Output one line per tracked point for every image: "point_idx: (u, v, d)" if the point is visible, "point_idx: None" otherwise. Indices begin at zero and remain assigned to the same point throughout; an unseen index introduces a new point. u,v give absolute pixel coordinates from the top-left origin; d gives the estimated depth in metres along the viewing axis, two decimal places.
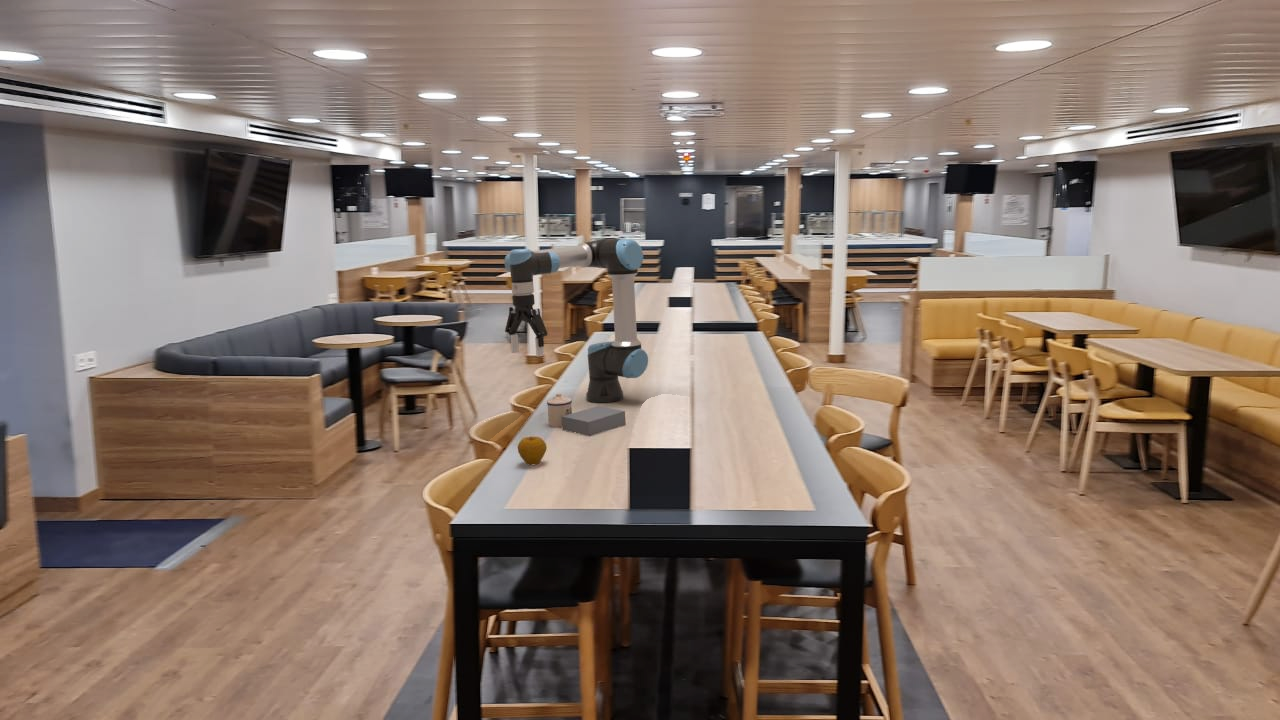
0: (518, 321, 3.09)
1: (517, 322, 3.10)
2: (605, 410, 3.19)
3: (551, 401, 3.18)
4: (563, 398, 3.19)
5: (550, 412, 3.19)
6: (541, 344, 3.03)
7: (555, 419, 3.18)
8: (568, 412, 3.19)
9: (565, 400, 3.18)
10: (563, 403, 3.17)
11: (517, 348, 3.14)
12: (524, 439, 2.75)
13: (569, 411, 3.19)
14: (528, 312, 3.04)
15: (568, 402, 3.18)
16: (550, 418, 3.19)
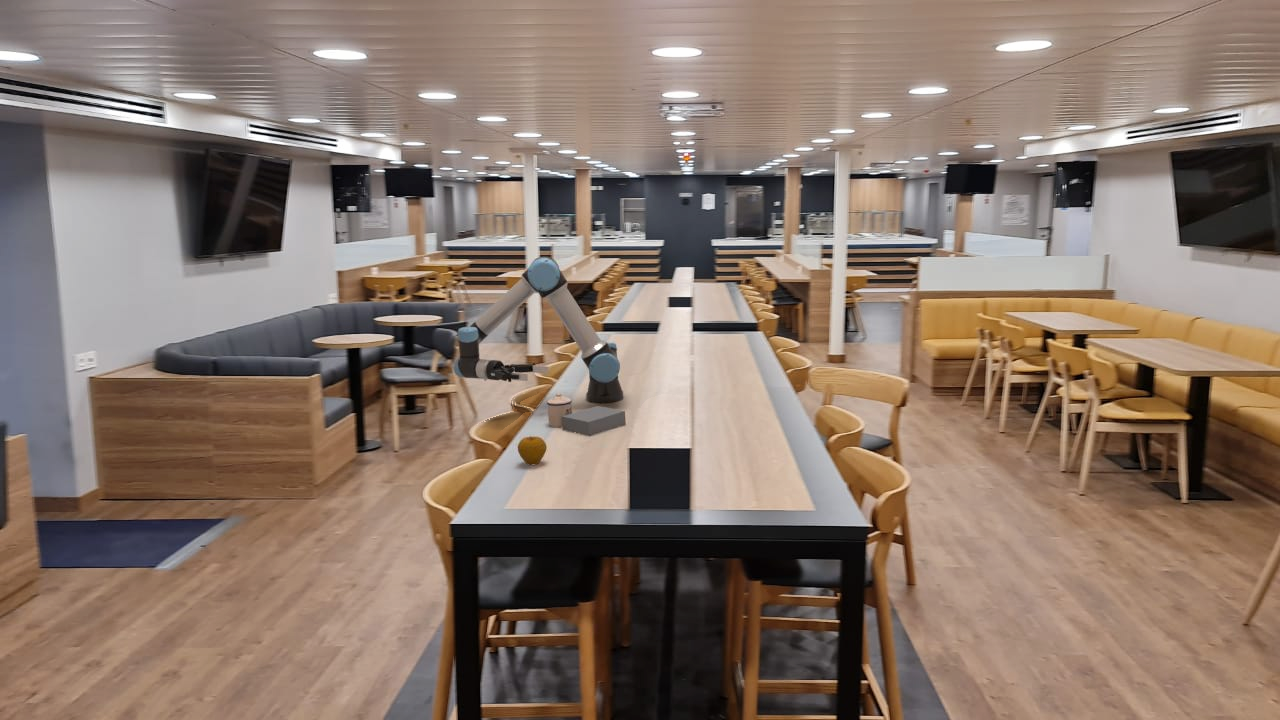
0: (517, 370, 3.33)
1: (518, 371, 3.33)
2: (605, 410, 3.19)
3: (551, 401, 3.18)
4: (563, 398, 3.19)
5: (550, 412, 3.19)
6: (515, 378, 3.19)
7: (555, 419, 3.18)
8: (568, 412, 3.19)
9: (565, 400, 3.18)
10: (563, 403, 3.17)
11: (543, 368, 3.31)
12: (524, 439, 2.75)
13: (569, 411, 3.19)
14: None
15: (568, 402, 3.18)
16: (550, 418, 3.19)
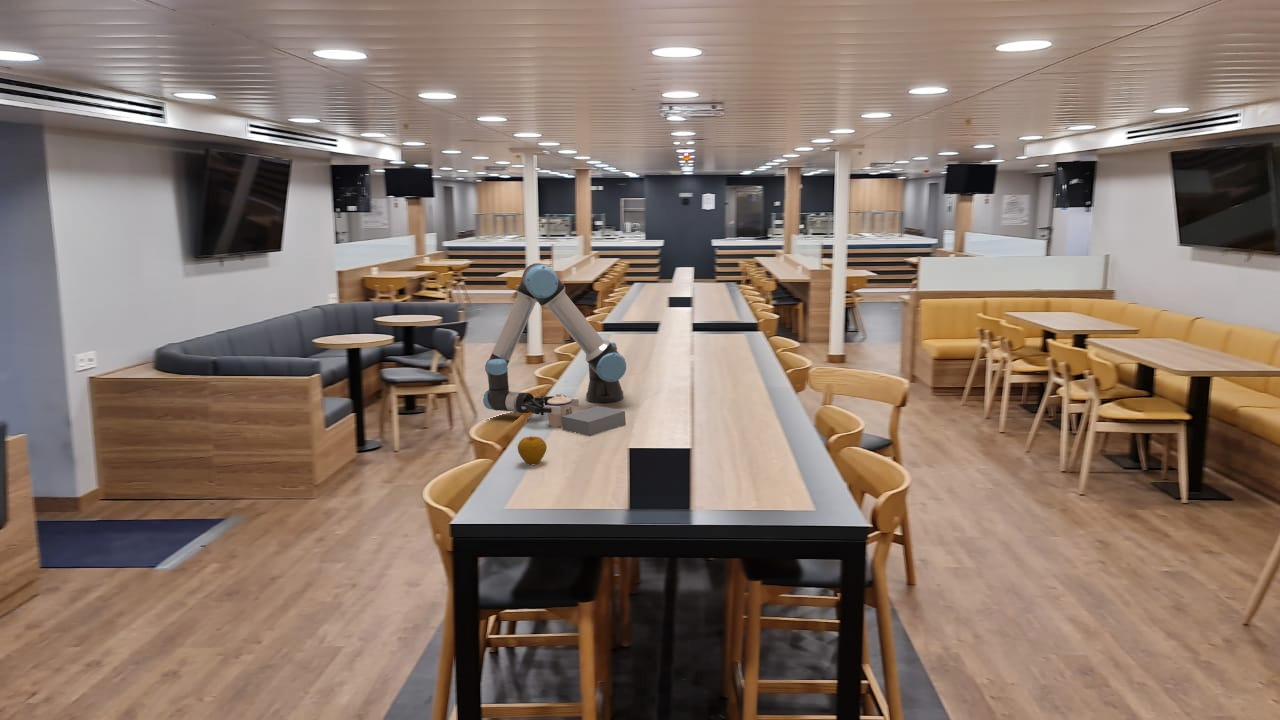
0: None
1: None
2: (605, 410, 3.19)
3: (551, 401, 3.18)
4: (563, 398, 3.19)
5: None
6: (547, 411, 3.16)
7: (555, 418, 3.18)
8: (568, 412, 3.19)
9: (565, 400, 3.18)
10: (563, 403, 3.17)
11: (574, 400, 3.26)
12: (524, 439, 2.75)
13: (569, 411, 3.19)
14: None
15: (568, 402, 3.18)
16: (550, 418, 3.19)
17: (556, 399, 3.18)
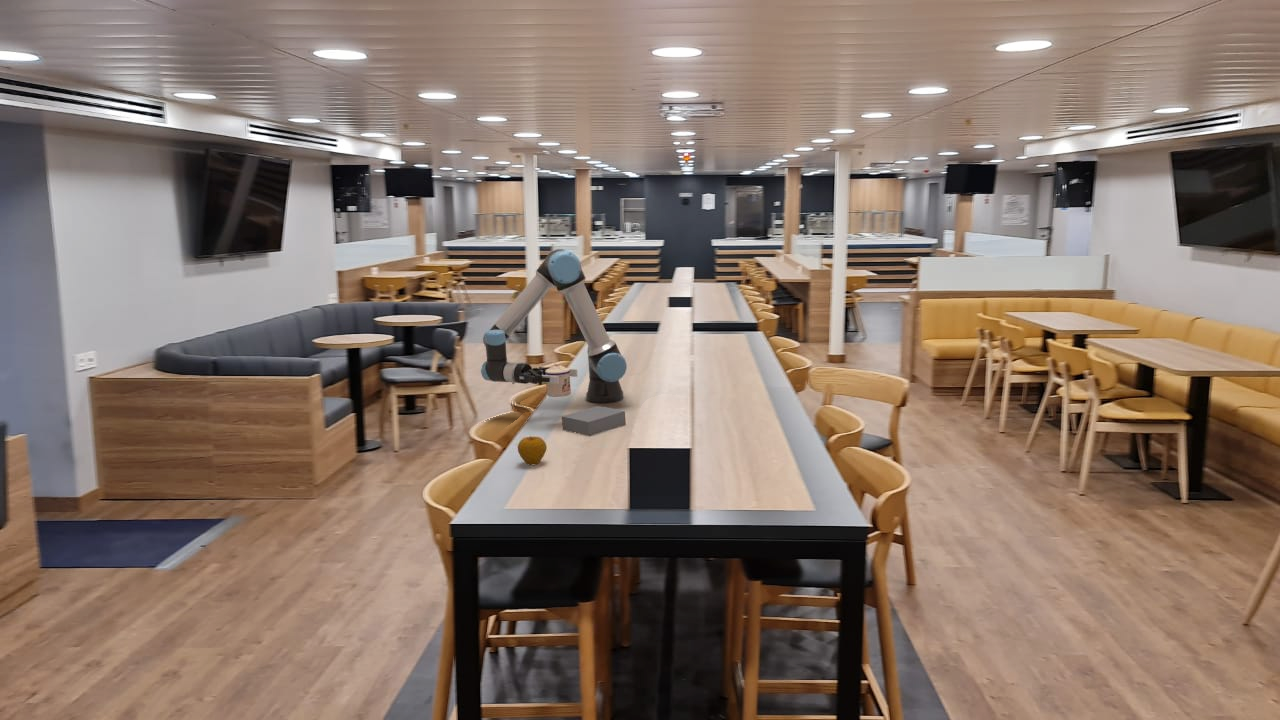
0: None
1: None
2: (605, 410, 3.19)
3: (549, 370, 3.16)
4: (561, 368, 3.17)
5: None
6: (545, 380, 3.14)
7: (553, 388, 3.15)
8: (566, 382, 3.16)
9: (563, 369, 3.16)
10: (561, 372, 3.14)
11: (572, 371, 3.24)
12: (524, 439, 2.75)
13: (567, 381, 3.17)
14: None
15: (566, 371, 3.16)
16: (548, 388, 3.17)
17: (554, 369, 3.16)
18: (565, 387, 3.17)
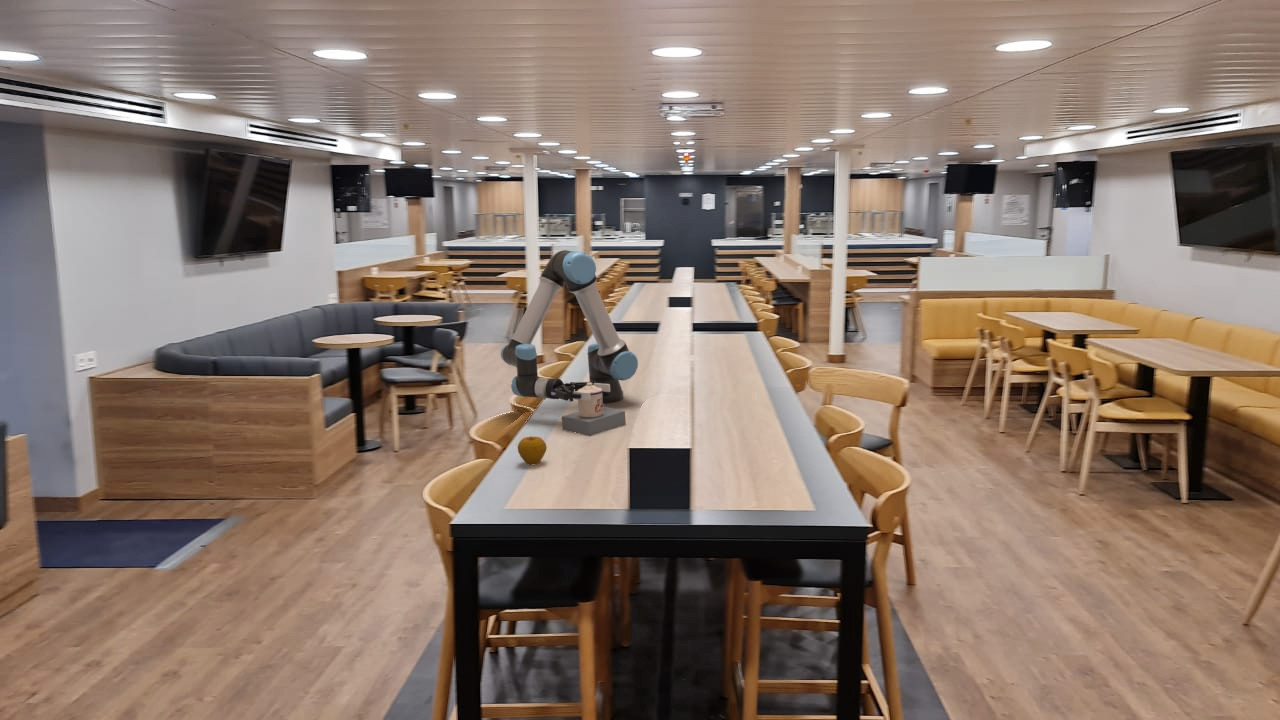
0: (577, 388, 3.21)
1: (578, 389, 3.21)
2: (605, 410, 3.19)
3: (582, 390, 3.09)
4: (594, 387, 3.10)
5: (581, 402, 3.10)
6: (577, 397, 3.07)
7: (586, 409, 3.09)
8: (599, 402, 3.10)
9: (596, 389, 3.10)
10: (594, 392, 3.08)
11: (605, 386, 3.19)
12: (524, 439, 2.75)
13: (600, 401, 3.10)
14: None
15: (599, 392, 3.10)
16: (581, 408, 3.10)
17: (587, 388, 3.09)
18: (598, 407, 3.10)
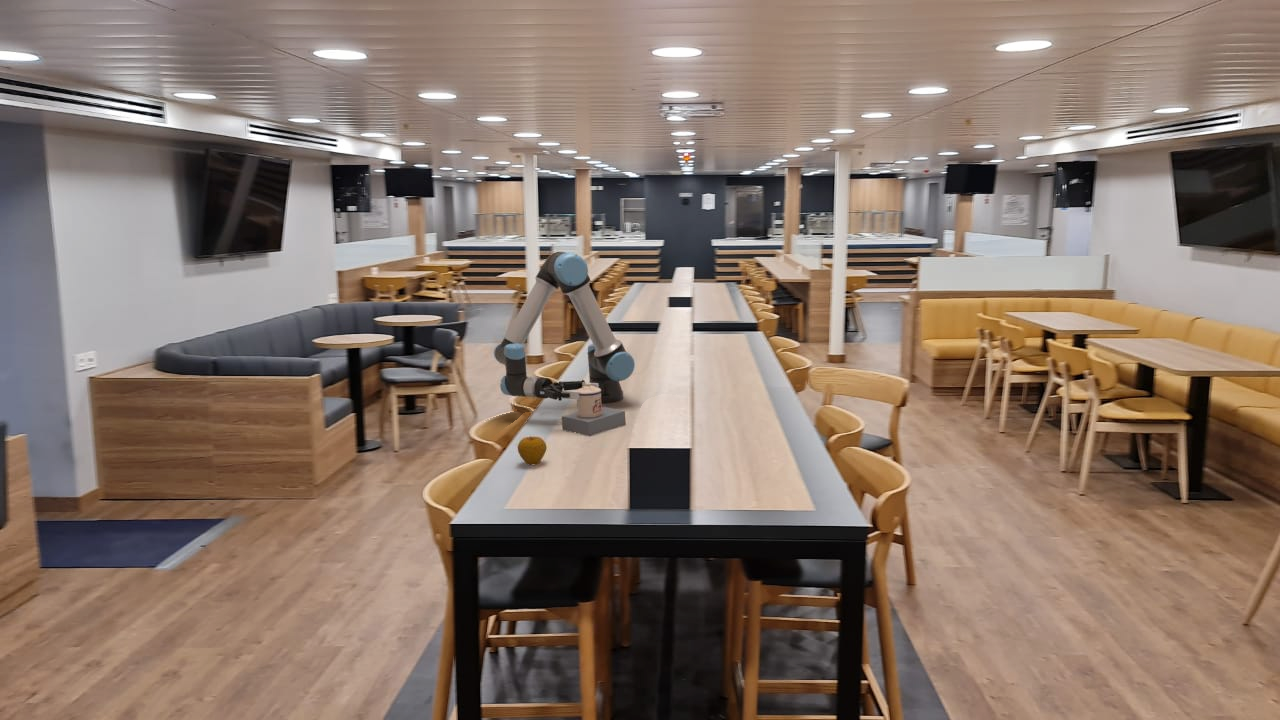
0: (566, 388, 3.23)
1: (567, 388, 3.23)
2: (605, 410, 3.19)
3: (580, 391, 3.10)
4: (592, 388, 3.10)
5: (579, 402, 3.10)
6: (566, 396, 3.09)
7: (583, 409, 3.09)
8: (597, 402, 3.10)
9: (594, 390, 3.09)
10: (592, 393, 3.08)
11: (593, 385, 3.20)
12: (524, 439, 2.75)
13: (598, 401, 3.10)
14: None
15: (597, 392, 3.09)
16: (579, 408, 3.11)
17: (585, 389, 3.10)
18: (596, 408, 3.10)
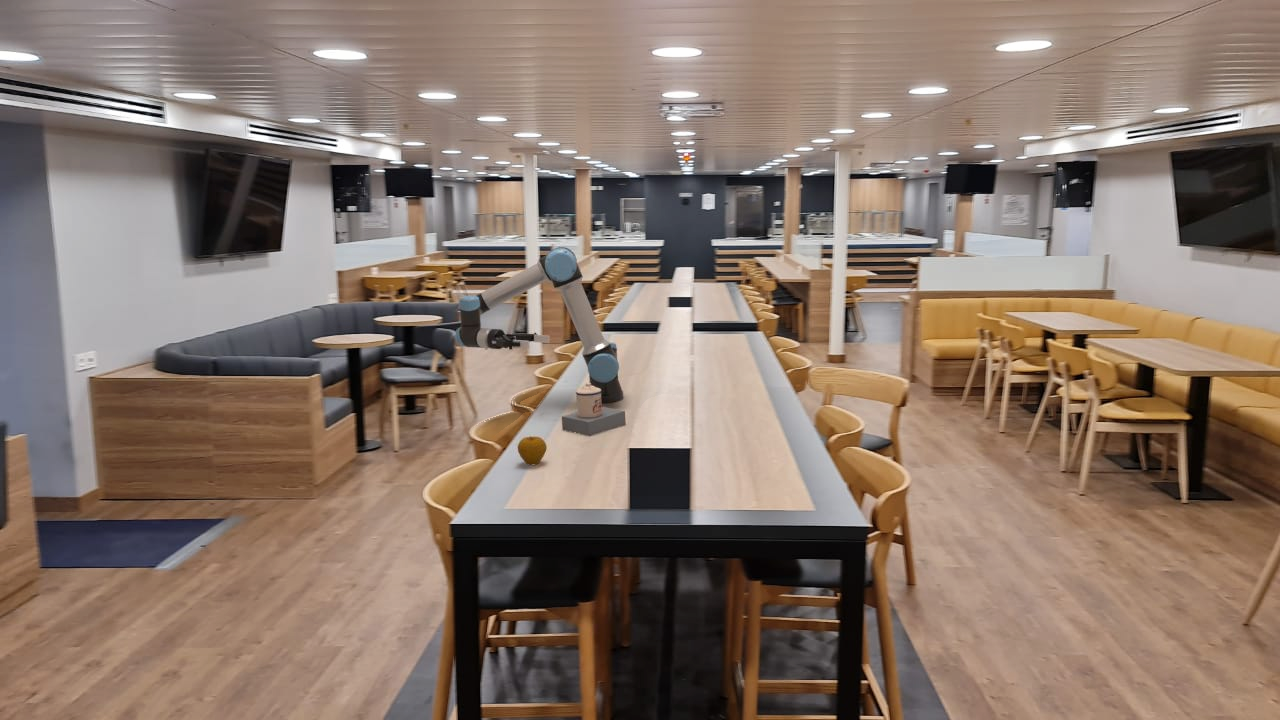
0: (518, 339, 3.32)
1: (519, 340, 3.32)
2: (605, 410, 3.19)
3: (580, 391, 3.10)
4: (592, 388, 3.10)
5: (579, 402, 3.10)
6: (516, 345, 3.18)
7: (583, 409, 3.09)
8: (597, 402, 3.10)
9: (594, 390, 3.09)
10: (592, 393, 3.08)
11: (545, 337, 3.30)
12: (524, 439, 2.75)
13: (598, 401, 3.10)
14: None
15: (597, 392, 3.09)
16: (579, 408, 3.11)
17: (585, 389, 3.10)
18: (596, 408, 3.10)
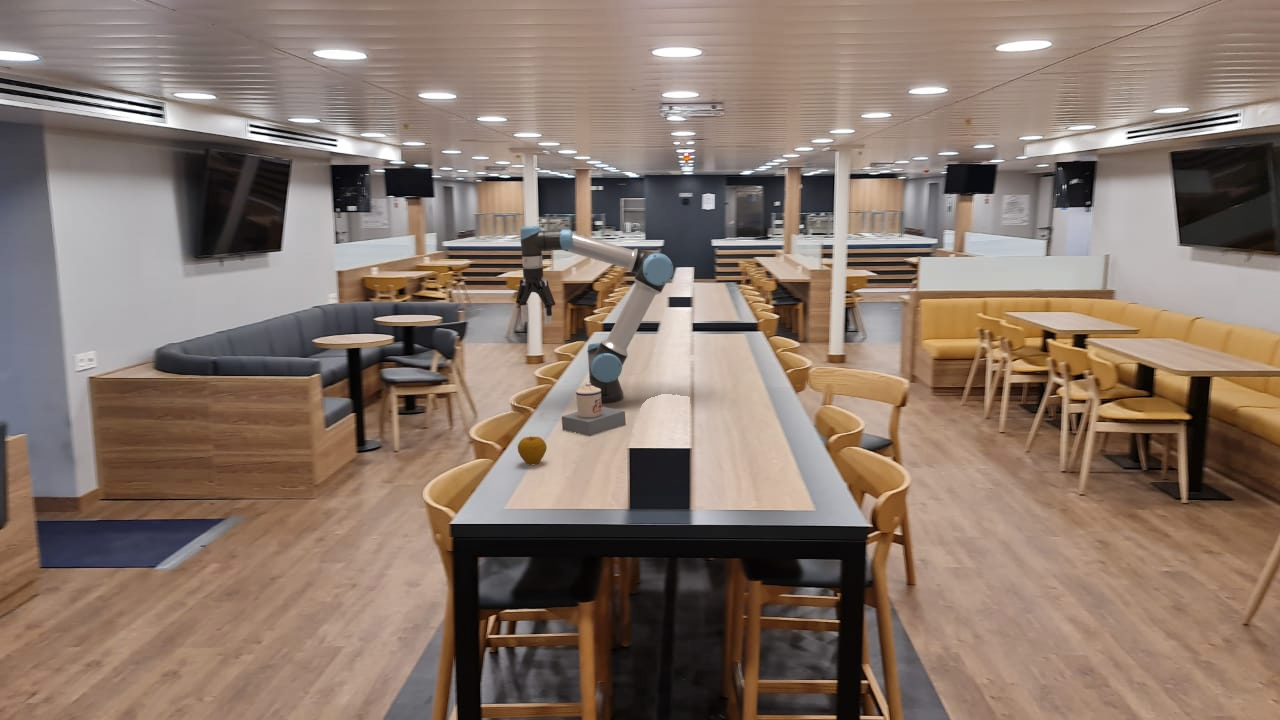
0: (528, 292, 3.36)
1: (527, 293, 3.36)
2: (605, 410, 3.19)
3: (580, 391, 3.10)
4: (592, 388, 3.10)
5: (579, 402, 3.10)
6: (549, 313, 3.30)
7: (583, 409, 3.09)
8: (597, 402, 3.10)
9: (594, 390, 3.09)
10: (592, 393, 3.08)
11: (527, 317, 3.41)
12: (524, 439, 2.75)
13: (598, 401, 3.10)
14: (537, 284, 3.30)
15: (597, 392, 3.09)
16: (579, 408, 3.11)
17: (585, 389, 3.10)
18: (596, 408, 3.10)
